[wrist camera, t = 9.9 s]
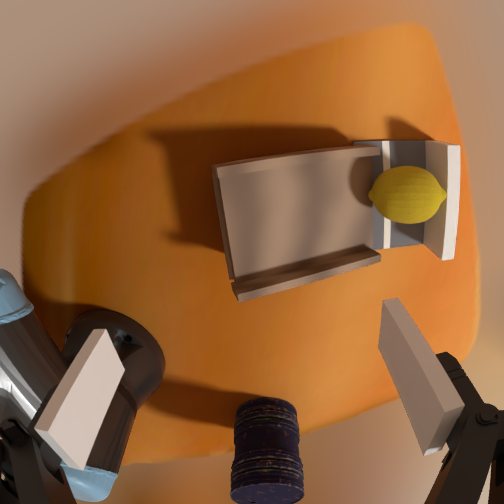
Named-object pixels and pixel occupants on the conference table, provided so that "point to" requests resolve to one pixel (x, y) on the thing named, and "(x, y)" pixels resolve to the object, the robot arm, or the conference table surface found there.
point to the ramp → (295, 217)
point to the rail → (446, 218)
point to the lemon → (407, 194)
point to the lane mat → (399, 156)
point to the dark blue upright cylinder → (266, 454)
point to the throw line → (385, 167)
